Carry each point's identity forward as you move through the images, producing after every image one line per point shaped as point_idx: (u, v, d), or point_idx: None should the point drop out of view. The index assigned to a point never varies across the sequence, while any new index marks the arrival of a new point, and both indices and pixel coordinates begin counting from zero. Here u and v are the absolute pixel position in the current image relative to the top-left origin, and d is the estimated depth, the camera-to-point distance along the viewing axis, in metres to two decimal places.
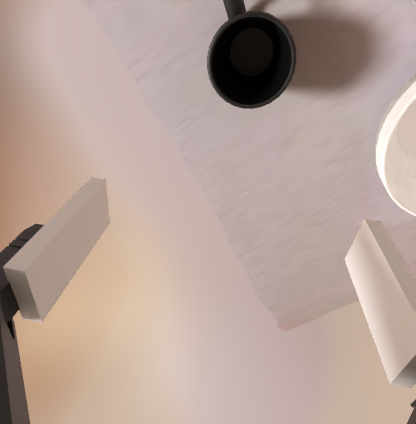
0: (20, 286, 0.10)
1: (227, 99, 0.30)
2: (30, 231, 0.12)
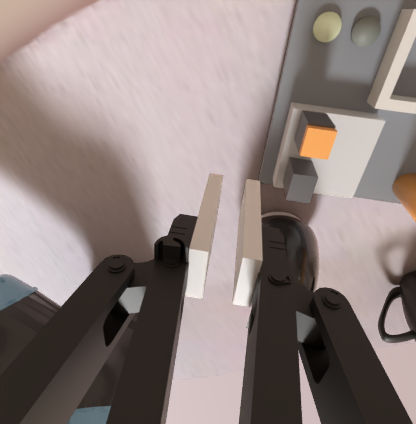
0: (197, 265, 0.12)
1: None
2: (180, 220, 0.14)
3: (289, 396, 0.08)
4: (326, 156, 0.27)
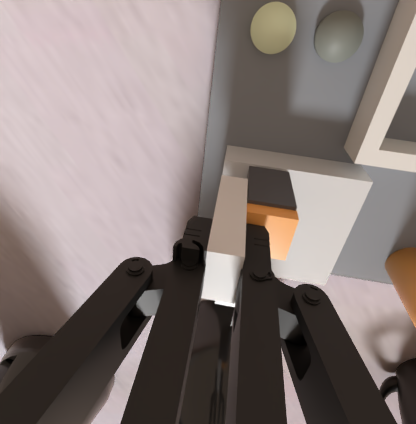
0: (214, 267, 0.12)
1: None
2: (194, 222, 0.14)
3: (272, 392, 0.08)
4: (282, 255, 0.16)
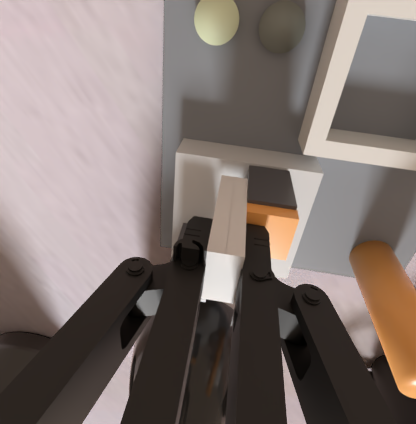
0: (214, 267, 0.12)
1: None
2: (194, 222, 0.14)
3: (272, 391, 0.08)
4: (282, 255, 0.15)
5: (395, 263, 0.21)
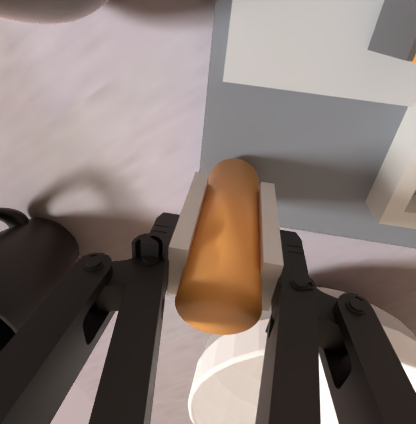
0: (177, 264, 0.12)
1: None
2: (163, 219, 0.14)
3: (307, 403, 0.08)
4: None
5: None
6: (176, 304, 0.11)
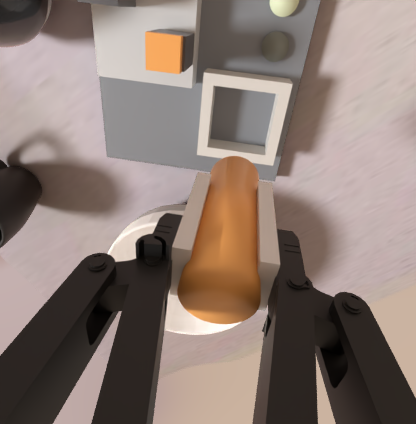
0: (180, 264, 0.12)
1: None
2: (165, 219, 0.14)
3: (304, 401, 0.08)
4: (149, 67, 0.23)
5: None
6: (178, 294, 0.12)
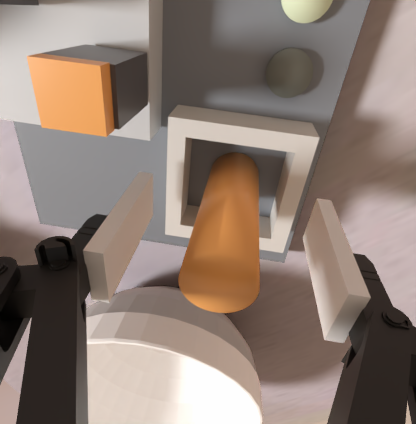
0: (95, 268, 0.11)
1: None
2: (93, 220, 0.13)
3: None
4: (47, 122, 0.12)
5: None
6: (179, 283, 0.12)
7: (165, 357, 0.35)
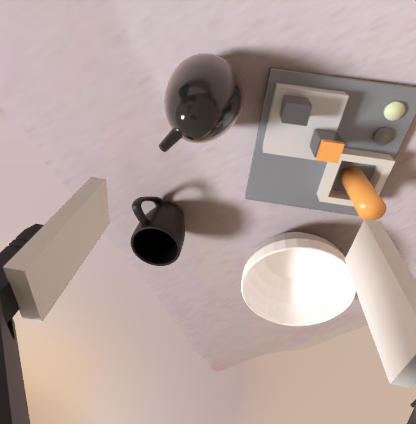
0: (20, 286, 0.10)
1: (144, 261, 0.51)
2: (30, 231, 0.12)
3: None
4: (319, 159, 0.38)
5: None
6: (359, 210, 0.38)
7: (284, 279, 0.61)
